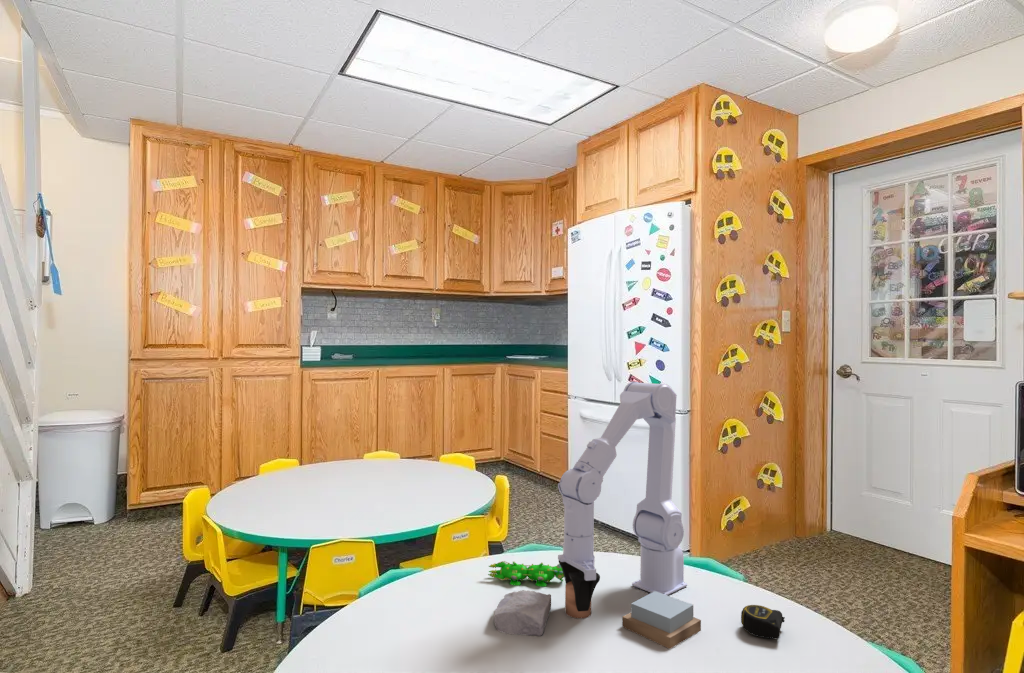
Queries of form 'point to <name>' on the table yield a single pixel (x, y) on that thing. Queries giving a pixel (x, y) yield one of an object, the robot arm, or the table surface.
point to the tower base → (660, 635)
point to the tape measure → (762, 621)
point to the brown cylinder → (573, 603)
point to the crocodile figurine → (527, 573)
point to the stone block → (523, 613)
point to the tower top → (662, 611)
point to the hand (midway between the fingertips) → (578, 603)
